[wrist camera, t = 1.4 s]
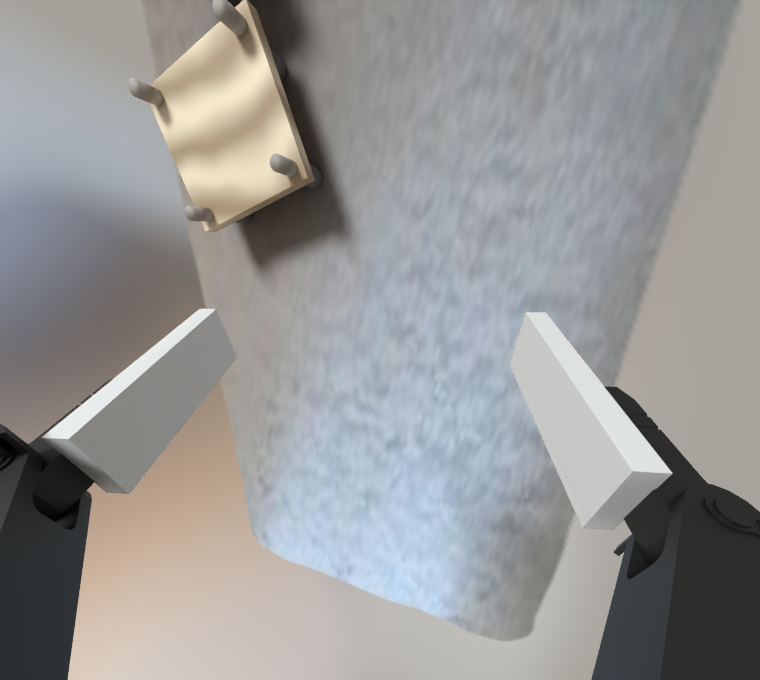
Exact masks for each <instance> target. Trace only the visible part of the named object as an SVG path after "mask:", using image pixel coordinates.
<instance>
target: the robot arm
mask: <svg viewBox="0 0 760 680" xmlns="http://www.w3.org/2000/svg"><path fill="white" fill-rule="evenodd" d="M236 358H237V357H236V355H235V353H234V350H233V348H232V346H231V343H230V341H229V338H228V336H227V334H226V331H225V329H224V327H223V324H222V322H221V320H220V317H219V315H218V313H217V310H216V309H199V310H198V311H197V312H196V313H194V314H193V315H192V316H191V317H189V318H188V319H187V320H186V321H184V322H183V323H182V324H181V325H179V326H178V327H177V328H176V329H174V330H173V331H172V332H171V333H169V334H168V335H167V336H166V337H165V338H163V339H162V340H161V341H160V342H158V343H157V344H156V345H155V346H154V347H152V348H151V349H150V350H148V351H147V352H146V353H145V354H144V355H143V356H141V357H140V358H139V359H138V360H136V361H135V362H134V363H132V364H131V365H130V366H129V367H128V368H126V369H125V370H124V371H123V372H121V373H120V374H119V375H118V376H116V377H115V378H113V379H111V380H109V381H107V382H106V383H105V384H104V385H102V386H101V387H100V388H99V389H97V390H96V391H95V392H94V393H93V395H90V396H89V397H87V398H86V399H85V400H84V401H82V402H81V405H78V406H76V407H75V408H74V409H72V410H71V411H70V412H69V413H67V414H66V415H65V416H64V417H63V418H61V419H60V420H59V421H58V422H56V423H55V424H54V425H52V426H51V427H50V428H49V429H48V430H46V431H45V432H44V433H43V434H41V435H40V436H39V437H38V438H36V439H35V440H34V441H32V442H31V443H30V444H27V443H25V442H24V441H23V440H21V439H20V438H19V437H18V436H16V435H15V434H14V433H13V432H11V431H10V430H9V429H8V428H6V427H5V426H3V425H1V424H0V680H67V679H68V672H69V663H70V657H71V649H72V642H73V635H74V627H75V619H76V612H77V604H78V597H79V590H80V583H81V575H82V568H83V561H84V553H85V546H86V538H87V531H88V524H89V516H90V509H91V501H92V498H91V494H90V493H89V492H87V489H88V488H89V487H90V486H91V485H92V484H93V483H94V482H95V483H96V484H97V485H98V486H99V487H101V488H102V489H103V490H104V491H106V492H108V493H122V494H130V492H131V491H132V490H133V488H134V487H135V486H136V485H137V483H138V482H139V481H140V480H141V478H142V477H143V476H144V475H145V473H146V472H147V471H148V469H149V468H150V467H151V466H152V464H153V463H154V462H155V460H156V459H157V458H158V457H159V456H160V454H161V453H162V452H163V450H164V449H165V448H166V447H167V445H168V444H169V443H170V441H171V440H172V439H173V438H174V437H175V435H176V434H177V433H178V431H179V430H180V429H181V428H182V426H183V425H184V424H185V422H186V421H187V420H188V419H189V417H190V416H191V415H192V414H193V412H194V411H195V410H196V409H197V407H198V406H199V405H200V403H201V402H202V401H203V400H204V398H205V397H206V396H207V395H208V393H209V392H210V391H211V390H212V388H213V387H214V386H215V385H216V383H217V382H218V381H219V379H220V378H221V377H222V376H223V374H224V373H225V372H226V371H227V369H228V368H229V367H230V366H231V364H232V363H233V362H234V360H235V359H236ZM510 367H511V369H512V371H513V373H514V376H515V378H516V380H517V382H518V385H519V387H520V389H521V391H522V394H523V396H524V398H525V400H526V403H527V405H528V407H529V409H530V412H531V414H532V416H533V418H534V421H535V423H536V425H537V427H538V429H539V432H540V434H541V436H542V438H543V441H544V443H545V445H546V447H547V450H548V452H549V454H550V456H551V459H552V461H553V463H554V465H555V468H556V470H557V472H558V474H559V477H560V479H561V481H562V483H563V485H564V488H565V490H566V492H567V494H568V497H569V499H570V501H571V503H572V506H573V508H574V510H575V512H576V515H577V517H578V519H579V521H580V524H581V526H582V528H592V529H605V530H614V529H615V528H616V527H617V526H618V525H619V524H620V523H621V522H622V521H623V520H625V522H626V524H627V525H628V527H629V529H630V530H631V532H632V535H631V536H629V537H628V538H627V539H626V540H625V541H624V542H622V543H621V544H620V545H619V546H618V547H617V548H616V550H615V551H614V553H615V554H617V555H618V556H619V555H620V554H622V553H623V552H624V551H625V552H624V556H623V559H622V563H621V567H620V571H619V575H618V579H617V583H616V587H615V590H614V594H613V598H612V602H611V606H610V610H609V614H608V618H607V622H606V625H605V630H604V633H603V637H602V641H601V645H600V649H599V653H598V657H597V660H596V665H595V668H594V672H593V676H592V680H760V512H759V511H758V510H756V509H755V508H754V507H753V506H752V505H751V504H749V503H748V502H747V501H745V500H743V499H742V498H740V497H739V496H737V495H735V494H733V493H732V492H730V491H728V490H725V489H723V488H720V487H717V486H715V485H712V484H708V483H707V482H706V481H705V480H704V479H703V478H702V477H701V476H700V475H699V473H698V472H697V471H696V470H695V469H694V468H693V467H692V465H691V464H690V463H689V462H688V461H687V460H686V458H684V456H683V455H682V454H681V453H680V452H679V450H678V449H677V448H676V447H675V446H674V445H673V443H672V442H671V441H670V440H669V439H668V438H667V437H666V435H665V434H664V433H663V432H662V431H661V430H658V426H657V425H656V424H655V423H654V422H653V420H652V419H651V418H650V417H647V414H646V412H645V411H644V410H643V409H642V408H641V407H640V405H639V404H638V403H637V402H636V401H635V400H634V399H633V398H631V397H630V396H629V395H627V394H626V393H624V392H623V391H621V390H620V389H619V388H617V387H604V386H603V385H602V383H601V382H600V381H599V379H598V378H597V377H596V376H595V374H594V373H593V372H592V371H591V369H590V368H589V367H588V366H587V364H586V363H585V362H584V360H583V359H582V358H581V357H580V355H579V354H578V353H577V352H576V350H575V349H574V348H573V347H572V345H571V344H570V343H569V341H568V340H567V339H566V338H565V336H564V335H563V334H562V333H561V331H560V330H559V329H558V327H557V326H556V325H555V324H554V322H553V321H552V320H551V319H550V317H549V316H548V315H547V314H546V313H539V312H526V313H525V316H524V320H523V323H522V326H521V329H520V333H519V336H518V339H517V343H516V346H515V349H514V352H513V356H512V359H511V362H510Z"/></svg>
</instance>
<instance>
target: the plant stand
mask: <svg viewBox="0 0 760 680" xmlns="http://www.w3.org/2000/svg"><path fill="white" fill-rule="evenodd" d="M212 8H213V13H214V15H215V16H216V17H217V18H218V19H219V20H220V22H219V23H218V24H216V25H215V26H214V27H213V28H212V29H211V30H210V31H209V32H208V33H207V34H205V35H204V36H203V37H202V38H201V39H200V40H199V41H198V42H197V43H196V44H195V45H193V46H192V47H191V48H190V49H189V50H188V51H187V52H186V53H185V54H184V55H182V56H181V57H180V58H179V59H178V60H177V61H176V62H175V63H174V64H173V65H172V66H170V67H169V68H168V69H167V70H166V71H165V72H164V73H163V74H162V75H161V76H159V77H158V78H157V79H156V80H155V81H154V82H153V83H152V84H151V85H148V84H145V83H144V82H141V81H139V80H138V79H135V78H131V79H130V80H129V90H130V92H131V94H132V95H133V96H135V97H137V98H140V99H142V100H144V101H146V102H149V103H150V106H151V108H152V110H153V113H154V115H155V117H156V119H157V122H158V124H159V126H160V128H161V131H162V133H163V135H164V137H165V140H166V142H167V144H168V147H169V149H170V151H171V154H172V156H173V158H174V160H175V163H176V165H177V167H178V170H179V172H180V174H181V176H182V179H183V181H184V183H185V185H186V188H187V190H188V192H189V195H190V197H191V199H192V201H193V204H194V206H186V208H185V215H186V217H187V218H188V219H189V220H191V221H201V222H202V224H203V227H204V229H205V231H206V232H217V231H219V230H221V229H222V228H224V227H226V226H228V225H230V224H232V223H234V222H238V223H249V222H250V221H251V219H252V213H253V212H255V211H257V210H259V209H261V208H263V207H265V206H267V205H269V204H271V203H273V202H275V201H276V200H278V199H280V198H282V197H284V196H286V195H288V194H290V193H292V192H294V191H296V190H298V189H300V188H302V187H303V186H308V187H310V188H314V189H315V188H318V187H320V185H321V184H322V181H323V175H322V172H321V171H320V169H318V168H317V167H315V166H313V165H311V164H309V162H308V159H307V156H306V153H305V150H304V147H303V144H302V141H301V138H300V135H299V132H298V129H297V127H296V124H295V121H294V118H293V115H292V112H291V109H290V106H289V103H288V100H287V97H286V94H285V91H284V89H283V86H282V83H281V82H282V81H283V80H284V78H285V76H286V64H285V62H284V60H283V59H282V58H281V57H280V56H279V55H278V54H277V53H276V52H275V51H274V50H273V49H271V48H270V47H269V45H268V42H267V39H266V36H265V33H264V30H263V27H262V24H261V21H260V18H259V15H258V13H257V10H256V9H255V8H254V7H253V5H252V4H251V3H250V2H249V1H248V0H243V1H242V2H241V3H239V4H238V5H237V6H236V7H235V8H234V7H233V6H232V5H231V4H230V3H229V2H228V1H227V0H213V4H212Z"/></svg>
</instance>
